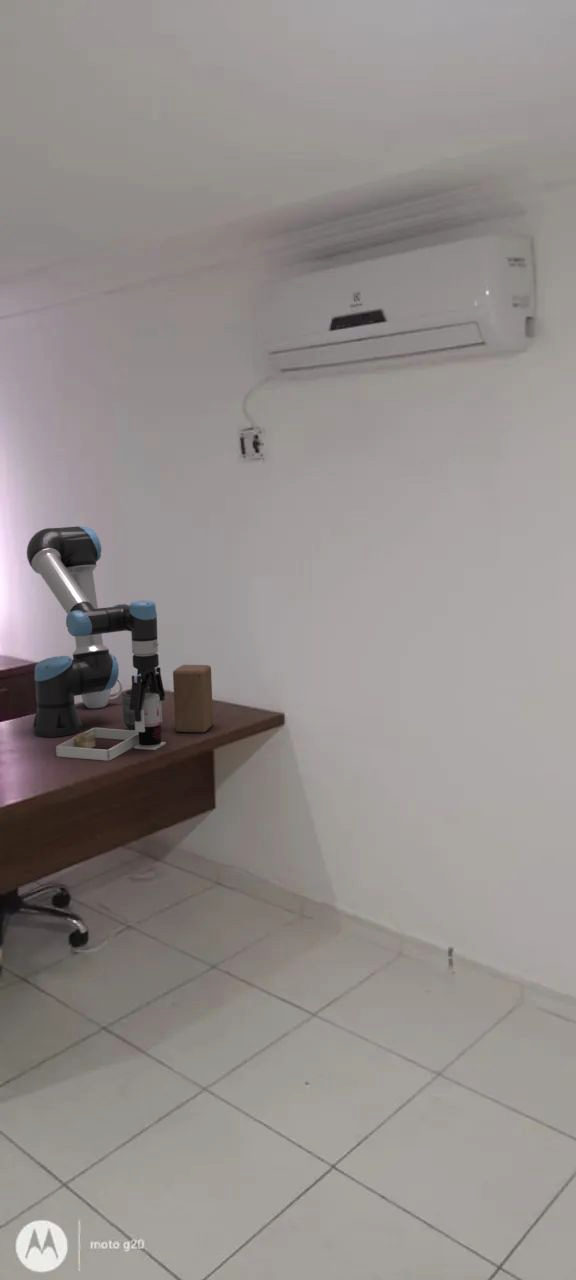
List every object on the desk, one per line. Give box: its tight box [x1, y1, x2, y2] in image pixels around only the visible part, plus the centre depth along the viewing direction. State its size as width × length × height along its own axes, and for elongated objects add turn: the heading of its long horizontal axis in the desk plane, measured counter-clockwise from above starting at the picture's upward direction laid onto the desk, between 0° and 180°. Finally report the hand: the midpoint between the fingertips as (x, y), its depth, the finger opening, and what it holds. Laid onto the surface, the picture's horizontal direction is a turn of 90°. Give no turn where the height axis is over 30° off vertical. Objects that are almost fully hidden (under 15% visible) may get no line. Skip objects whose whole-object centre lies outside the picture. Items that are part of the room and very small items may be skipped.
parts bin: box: [55, 727, 139, 761], centre depth 275 cm, size 17×21×3 cm
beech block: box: [75, 731, 96, 749], centre depth 276 cm, size 4×4×4 cm
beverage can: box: [139, 693, 162, 747], centre depth 275 cm, size 7×7×15 cm
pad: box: [133, 741, 167, 751], centre depth 276 cm, size 7×7×1 cm
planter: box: [121, 687, 163, 731], centre depth 293 cm, size 12×12×13 cm
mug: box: [80, 677, 123, 709], centre depth 327 cm, size 15×11×13 cm
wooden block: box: [172, 664, 214, 734], centre depth 293 cm, size 10×10×20 cm
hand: (149, 726), depth 276 cm, fingers open, 10 cm apart
